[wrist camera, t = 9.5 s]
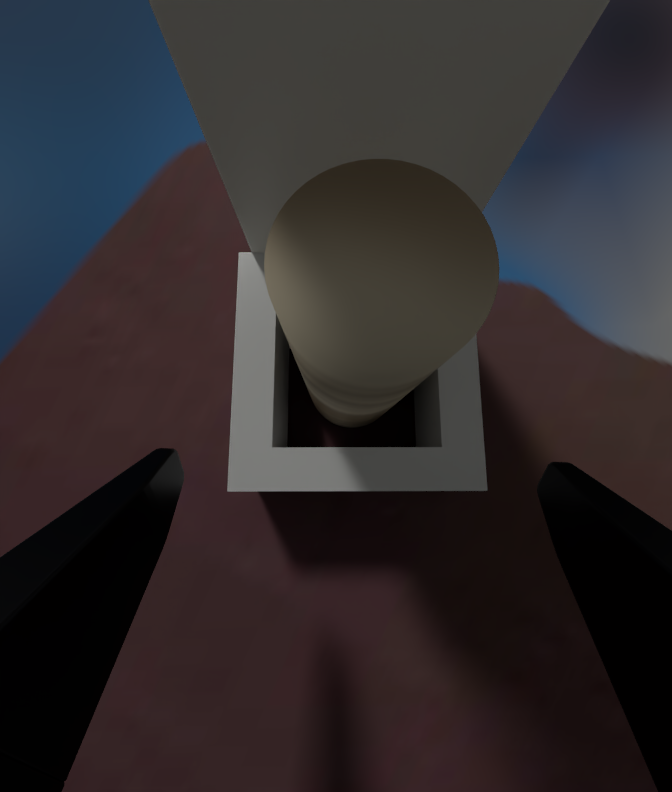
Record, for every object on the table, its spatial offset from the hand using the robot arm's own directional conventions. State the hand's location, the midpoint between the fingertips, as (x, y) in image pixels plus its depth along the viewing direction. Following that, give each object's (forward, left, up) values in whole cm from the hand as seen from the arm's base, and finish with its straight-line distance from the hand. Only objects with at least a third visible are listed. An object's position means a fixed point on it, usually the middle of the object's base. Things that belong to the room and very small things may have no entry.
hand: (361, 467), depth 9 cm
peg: (+4, -1, -8) cm, 9 cm away
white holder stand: (+4, -1, -8) cm, 9 cm away
